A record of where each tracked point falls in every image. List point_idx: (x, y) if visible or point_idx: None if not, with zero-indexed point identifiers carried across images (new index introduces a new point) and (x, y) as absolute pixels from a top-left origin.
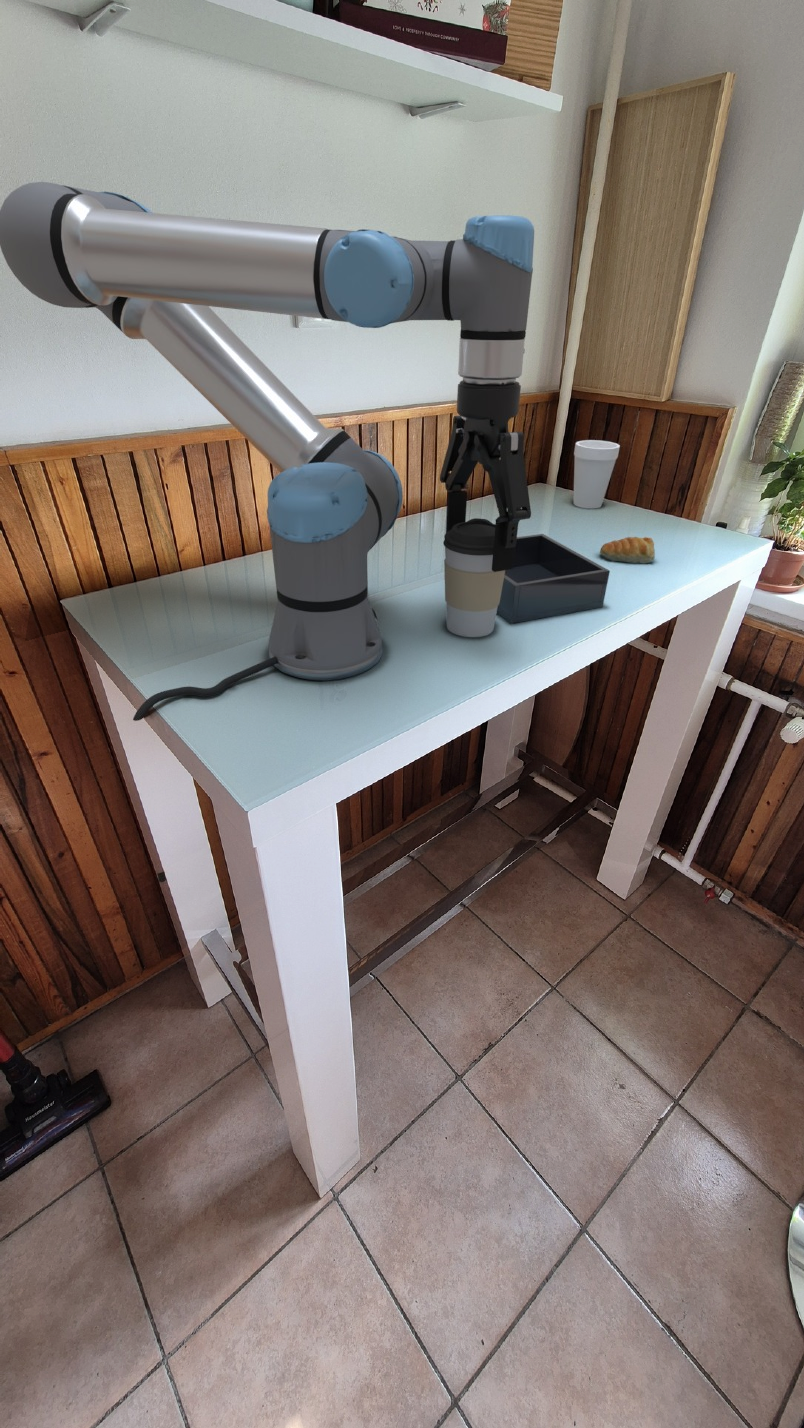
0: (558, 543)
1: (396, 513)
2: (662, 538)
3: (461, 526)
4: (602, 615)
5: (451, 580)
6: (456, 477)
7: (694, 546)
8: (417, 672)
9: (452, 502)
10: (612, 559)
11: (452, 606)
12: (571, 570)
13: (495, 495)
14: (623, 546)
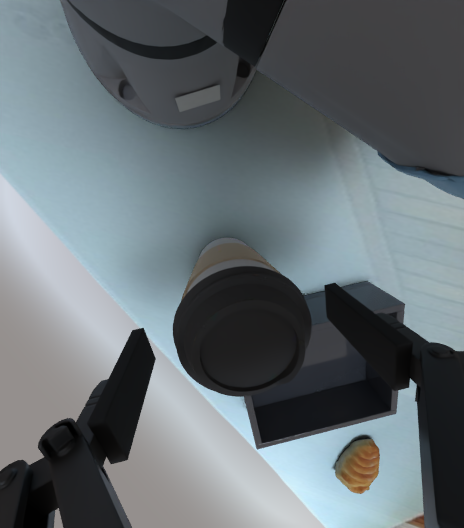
0: (357, 422)
1: (405, 167)
2: (385, 490)
3: (286, 322)
4: (229, 401)
5: (212, 257)
6: (424, 405)
7: (357, 505)
8: (105, 168)
9: (375, 336)
10: (353, 443)
11: (211, 248)
12: (308, 409)
13: (97, 498)
14: (358, 465)
